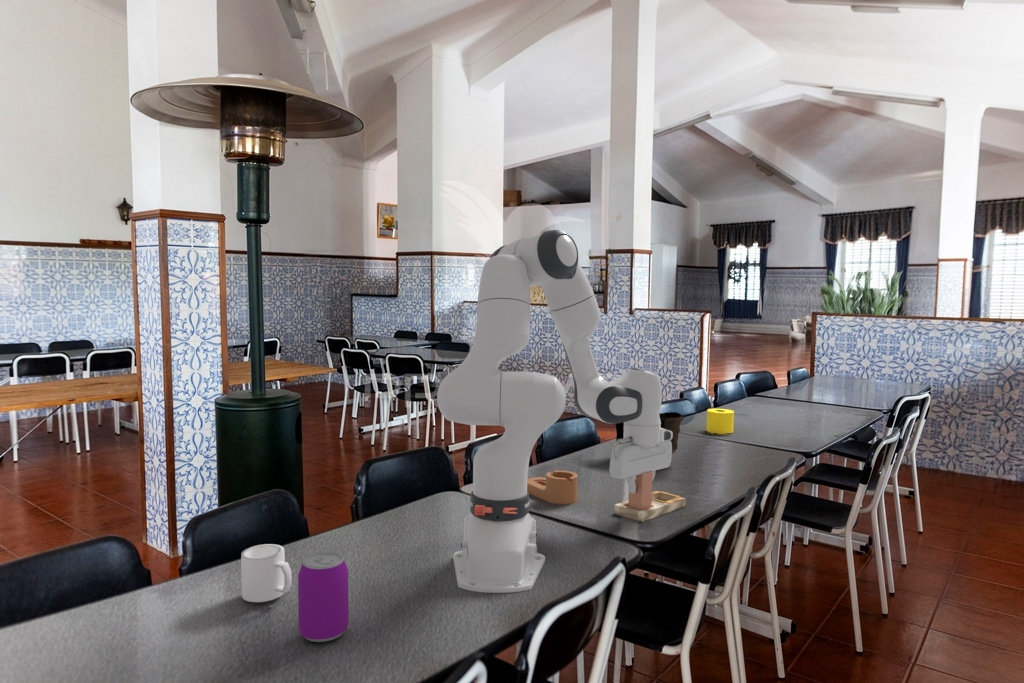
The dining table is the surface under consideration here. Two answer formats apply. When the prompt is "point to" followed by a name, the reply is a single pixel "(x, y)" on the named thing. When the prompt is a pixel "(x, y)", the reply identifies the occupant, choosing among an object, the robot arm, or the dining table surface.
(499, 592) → the robot arm
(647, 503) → the terracotta peg
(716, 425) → the tape roll
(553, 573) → the dining table surface
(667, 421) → the pottery vessel
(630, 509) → the peg board
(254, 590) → the mug
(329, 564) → the beverage can
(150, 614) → the dining table surface
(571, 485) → the bracket
